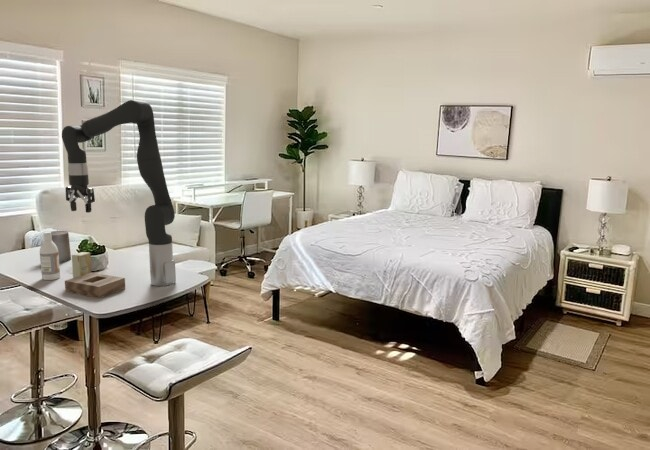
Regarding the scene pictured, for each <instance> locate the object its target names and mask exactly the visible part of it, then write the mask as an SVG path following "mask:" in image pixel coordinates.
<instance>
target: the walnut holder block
mask: <svg viewBox="0 0 650 450" xmlns="http://www.w3.org/2000/svg"><path fill="white" fill-rule="evenodd" d="M64 289H65V290H64V291H65V293H70V294H75V295H80V296H86V297H90V298H96V299H102V298H104V297H107V296H110V295H112V294H114V293H117V292H120V291H123V290H126V278H125V277H121V276H116V275H115V276H114V275H109V274H103V273H98V272H97V273H96V272H91V273H88V274H85V275H82V276H79V277H75V278H73V277H72V278H69V279H66V280H64Z"/></svg>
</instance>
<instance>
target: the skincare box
mask: <svg viewBox="0 0 650 450" xmlns="http://www.w3.org/2000/svg"><path fill="white" fill-rule="evenodd" d="M71 263H72V266H71V267H72V278H75V277H79V276H82V275H85V274H88V273H92V259H91V252H89V251H88V252H86V251H81V252H77V253H75V254H71Z"/></svg>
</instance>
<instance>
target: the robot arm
mask: <svg viewBox="0 0 650 450" xmlns="http://www.w3.org/2000/svg"><path fill="white" fill-rule="evenodd" d="M125 124H135V125H136V126H137V131H138V135H139V136H138V137H139V140H138V141H139V142H138V146H137V150H136V151H137V152H136V162H137V166H138V167H137V168H138V171H139V174H140V177H141V178H142V180H143V181H144V183H145V184H146V186H147V187H148V188H149V189H150V191H151V194H152V196H153V200H154V204H151V205H149V206H148V207H147V208H146V209H145V211H144V226H145V235H146V237H147V240H148V252H149V254H148V255H149V256H148V257H149V274H150V285H151V286H157V287H167V286H170V285H172V284H174V283H177V278H176V274H177V273H176V261H175V260H174V257H173V255H174V253H173V237H172V236H173V235H171V234H168V233H167V232H166V226H168V225H170V224H171V225H172V223H174V220H175V216H176V215H175V213H176V212H175V208H174V205H173V203H172V202H173V201H172V200H171V196H170V192H169V190H168V186H167V182H166V176H165V174H164V173H165V172H164V168H163V163H162V162H163V161H162V157H161V153H160V150H159V144H158V139H157V135H156V125H155V116H154V111H153V108H152V106H151V104H150V103H149V102H147V101H144V100H140V99H139V100H138V99H130V100H127V101H125V102H124V103H122V104H120V105H118V106H116V107H115V108H113V109H112V110H110V111H107V112H105V113H103V114H101V115H98V116H95V117H93V118H89V119H87V120H85V121H84V122H83V123H81V125H66V126H64V127H63V129H62V131H61V139H62V142H63V145H64V148H65V150H66V153H67V162H68V163H67V164H68V165H67V172H68V185H69V186H66V187H65V201H67V202H69V203H70V205H69V206H70V210H71V212H76V211H77V208H78V207H77V202H76V201H77V199H78V198H79V199H81V200H82V201H84V203H85V204H84V205H85V206H84V207H85V212H86V213H92V203H95V200H96V198H95V189H94V188H93V187H91V188H90V187H88V185H89V184H90V182H89V168H88V162H87V161H88V160H87V154H86V153H87V152H86V150H85V149H83V148H80V145H79V143H82V144H83V143H85V142H86V143H87V142H88V141H90V140H92V139H93V138H94V137H98V136H100V135H103V134H106V133H108V132H109V131H111V130H112V129H113V128H115V127H117V126H121V125H125Z"/></svg>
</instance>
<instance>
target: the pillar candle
mask: <svg viewBox="0 0 650 450" xmlns="http://www.w3.org/2000/svg"><path fill="white" fill-rule="evenodd" d="M50 232H51V236H52V241H53V242H54V243H55V245H56V246H57V248H58V254H59V263H63V262H62V261H65V262H68V261H70V260H72V254H71V245H70V237H69V235H70V234H69V231H68V230H53V231H50ZM67 260H68V261H67Z"/></svg>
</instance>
